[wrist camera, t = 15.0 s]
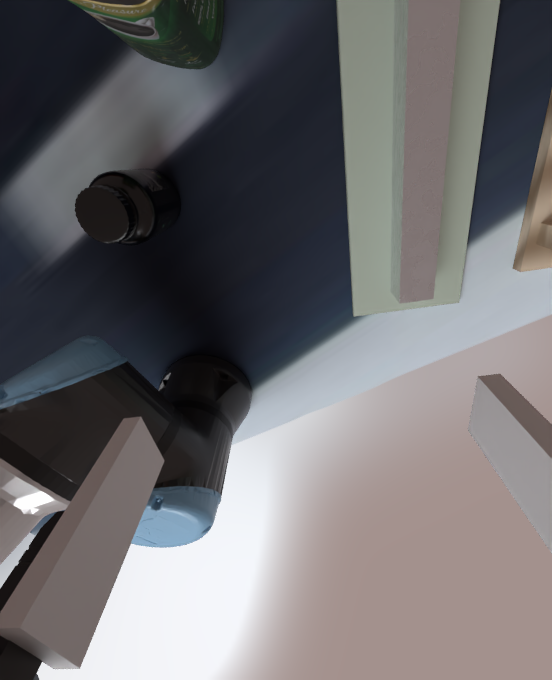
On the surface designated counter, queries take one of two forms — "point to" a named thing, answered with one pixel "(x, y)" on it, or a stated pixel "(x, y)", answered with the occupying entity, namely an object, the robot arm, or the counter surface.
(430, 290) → the steel rail
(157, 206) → the supplement bottle
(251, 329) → the counter surface
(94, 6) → the coffee jar
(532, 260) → the rail rack
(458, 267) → the sage mat
